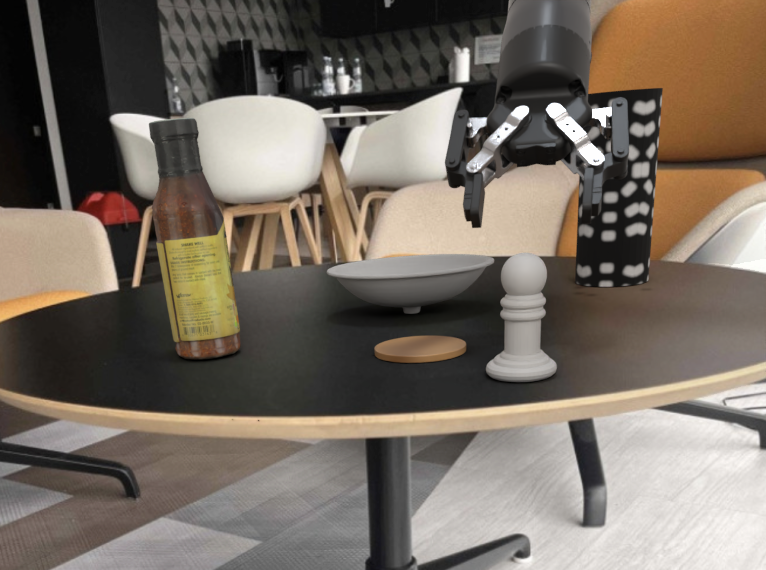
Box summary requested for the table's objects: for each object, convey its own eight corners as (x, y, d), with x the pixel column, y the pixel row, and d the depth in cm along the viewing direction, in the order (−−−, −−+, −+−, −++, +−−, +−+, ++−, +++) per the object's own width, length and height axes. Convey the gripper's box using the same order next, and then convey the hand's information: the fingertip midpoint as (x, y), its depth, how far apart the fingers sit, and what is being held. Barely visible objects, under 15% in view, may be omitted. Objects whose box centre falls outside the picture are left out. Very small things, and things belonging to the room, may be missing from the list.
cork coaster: (475, 342, 78) (475, 335, 78) (454, 364, 72) (453, 356, 71) (390, 341, 81) (390, 335, 81) (362, 362, 74) (361, 355, 74)
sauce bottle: (256, 351, 81) (229, 114, 73) (202, 365, 77) (168, 117, 69) (213, 343, 86) (183, 120, 77) (160, 357, 82) (123, 123, 73)
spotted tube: (652, 275, 105) (666, 88, 96) (643, 286, 98) (658, 87, 90) (582, 275, 108) (589, 95, 100) (568, 287, 101) (576, 94, 93)
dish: (337, 332, 86) (334, 280, 84) (324, 308, 99) (320, 262, 97) (511, 317, 88) (511, 265, 86) (475, 295, 101) (475, 249, 99)
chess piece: (570, 377, 65) (575, 252, 62) (507, 387, 64) (508, 260, 60) (533, 362, 70) (536, 245, 66) (473, 372, 69) (473, 253, 65)
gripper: (454, 31, 72) (433, 190, 67) (636, 12, 68) (628, 179, 63) (464, 103, 79) (446, 253, 74) (630, 90, 75) (622, 247, 70)
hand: (530, 219), depth 68 cm, fingers open, 8 cm apart
